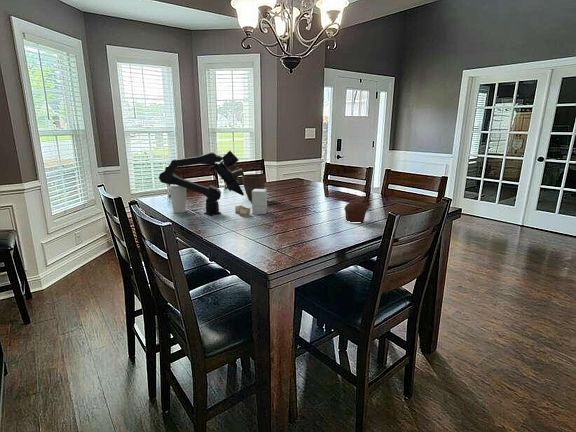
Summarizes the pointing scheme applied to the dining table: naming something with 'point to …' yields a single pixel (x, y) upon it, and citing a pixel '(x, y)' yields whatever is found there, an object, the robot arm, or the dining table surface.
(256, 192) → the supplement box
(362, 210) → the muffin
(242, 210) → the marked block
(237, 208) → the marked block
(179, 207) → the coffee cup
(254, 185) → the plant pot
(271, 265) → the dining table surface
